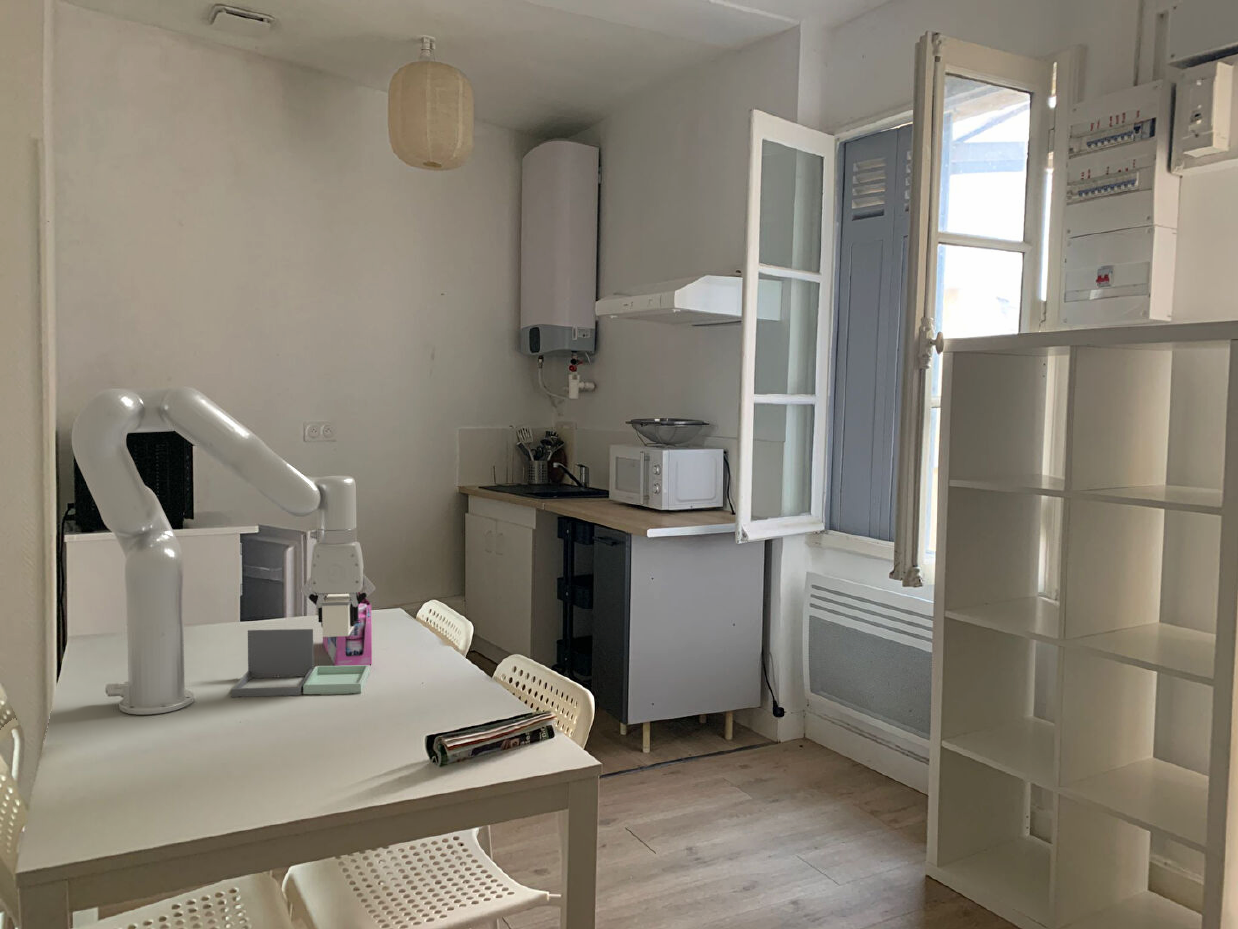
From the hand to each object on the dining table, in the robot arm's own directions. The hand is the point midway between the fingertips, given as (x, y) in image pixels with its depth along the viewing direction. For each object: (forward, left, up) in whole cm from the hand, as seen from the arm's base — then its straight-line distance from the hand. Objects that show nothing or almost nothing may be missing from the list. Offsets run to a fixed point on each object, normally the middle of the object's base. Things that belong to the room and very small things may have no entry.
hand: (338, 624), depth 188 cm
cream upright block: (0, 0, -2) cm, 2 cm away
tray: (0, 0, -12) cm, 12 cm away
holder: (-13, 0, -12) cm, 18 cm away
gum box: (-2, +23, -13) cm, 26 cm away
